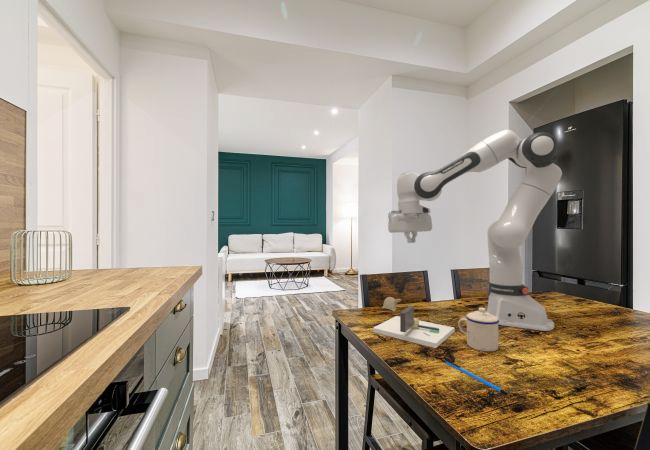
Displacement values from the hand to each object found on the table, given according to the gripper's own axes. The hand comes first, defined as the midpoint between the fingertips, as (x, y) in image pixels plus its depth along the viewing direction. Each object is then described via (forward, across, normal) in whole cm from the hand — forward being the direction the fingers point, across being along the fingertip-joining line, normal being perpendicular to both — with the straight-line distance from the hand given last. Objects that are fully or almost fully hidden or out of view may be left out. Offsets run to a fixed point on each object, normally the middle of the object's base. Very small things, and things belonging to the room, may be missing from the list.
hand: (411, 242), depth 130 cm
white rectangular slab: (+31, -14, -17) cm, 38 cm away
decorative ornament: (+29, -6, +10) cm, 31 cm away
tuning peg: (+30, -16, -22) cm, 41 cm away
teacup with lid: (+33, -3, -33) cm, 47 cm away
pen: (+34, -20, -47) cm, 62 cm away
